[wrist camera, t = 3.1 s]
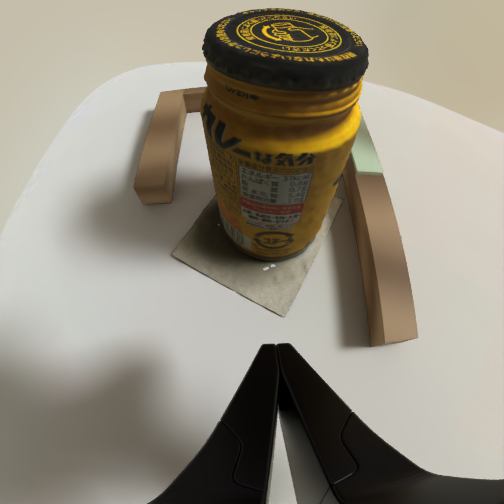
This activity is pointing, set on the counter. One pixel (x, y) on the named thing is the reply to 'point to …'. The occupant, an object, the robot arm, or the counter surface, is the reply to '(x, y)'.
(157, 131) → the rail bay
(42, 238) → the counter surface
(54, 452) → the counter surface
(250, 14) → the condiment
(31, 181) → the counter surface
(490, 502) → the robot arm
